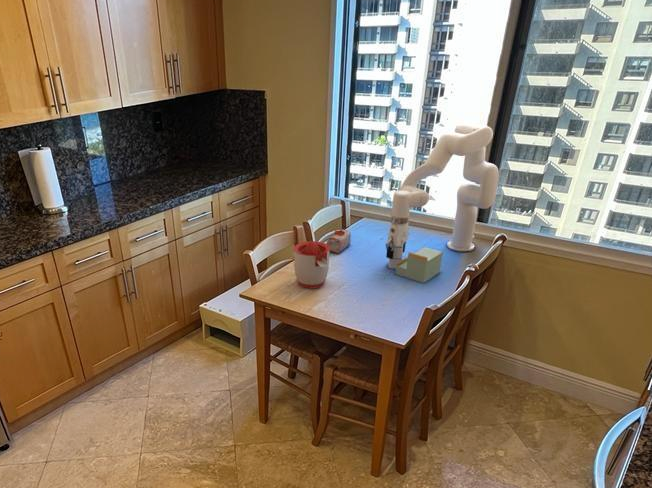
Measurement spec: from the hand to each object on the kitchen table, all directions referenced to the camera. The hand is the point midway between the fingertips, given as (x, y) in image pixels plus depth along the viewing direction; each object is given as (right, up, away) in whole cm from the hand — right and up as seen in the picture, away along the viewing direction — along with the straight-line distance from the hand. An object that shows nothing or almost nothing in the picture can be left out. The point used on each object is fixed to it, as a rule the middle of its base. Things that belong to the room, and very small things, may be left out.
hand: (395, 254), depth 237 cm
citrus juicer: (-40, -14, -8) cm, 43 cm away
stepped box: (+9, -9, -4) cm, 13 cm away
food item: (-22, +7, +24) cm, 33 cm away
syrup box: (0, -5, +3) cm, 6 cm away
